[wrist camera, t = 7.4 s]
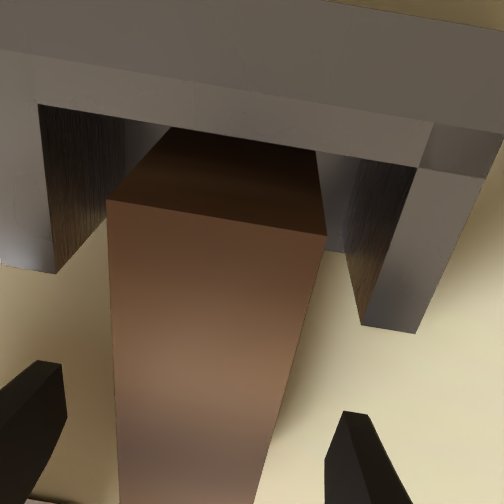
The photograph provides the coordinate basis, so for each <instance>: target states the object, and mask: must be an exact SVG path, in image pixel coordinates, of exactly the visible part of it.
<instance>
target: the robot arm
mask: <svg viewBox="0 0 504 504" xmlns="http://www.w3.org/2000/svg"><path fill="white" fill-rule="evenodd" d="M66 420H67V409H66V400H65V392H64V383H63V375H62V366H61V364H58V363H52V362H46V361H40V360H37V361H35V362H34V363H32V364H31V365H30V366H29V367H28V368H26V369H25V370H24V371H23V372H21V373H20V374H19V375H18V376H16V377H15V378H14V379H13V380H12V381H10V382H9V383H8V384H7V385H5V386H4V387H3V388H2V389H1V390H0V504H56V503H49V502H43V501H37V500H31V499H27V498H28V497H29V495H30V493H31V491H32V490H33V488H34V486H35V484H36V482H37V481H38V479H39V477H40V475H41V473H42V472H43V470H44V468H45V466H46V465H47V463H48V461H49V459H50V457H51V455H52V453H53V450H54V448H55V446H56V444H57V441H58V439H59V437H60V434H61V432H62V429H63V427H64V425H65V422H66ZM324 484H325V504H413V503H412V501H411V499H410V497H409V495H408V494H407V492H406V490H405V488H404V486H403V484H402V483H401V481H400V479H399V477H398V475H397V473H396V471H395V469H394V467H393V465H392V463H391V461H390V459H389V457H388V455H387V453H386V451H385V449H384V447H383V445H382V443H381V441H380V439H379V436H378V434H377V432H376V430H375V428H374V426H373V424H372V421H371V419H370V418H369V416H368V415H367V414H361V413H355V412H348V411H343V413H342V416H341V418H340V421H339V423H338V426H337V429H336V431H335V434H334V436H333V439H332V442H331V444H330V447H329V449H328V452H327V455H326V457H325V466H324Z"/></svg>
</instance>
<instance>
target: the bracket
mask: <svg viewBox="0 0 504 504" xmlns="http://www.w3.org/2000/svg"><path fill="white" fill-rule="evenodd" d="M170 127H174V128H180V129H186V130H192V131H198V132H204V133H210V134H216V135H221V136H227V137H233V138H239V139H245V140H251V141H257V142H263V143H269V144H275V145H281V146H287V147H293V148H299V149H305V150H310V151H316V158H317V165H318V172H319V179H320V187H321V194H322V201H323V208H324V215H325V222H326V230H327V240H326V243H325V247H324V250H328V251H334V252H340V253H345V255H346V260H347V264H348V269H349V273H350V278H351V282H352V287H353V291H354V296H355V300H356V305H357V309H358V314H359V318H360V323H361V325H364V326H370V327H376V328H382V329H388V330H394V331H400V332H406V333H412V334H416V331H417V329H418V327H419V325H420V322H421V320H422V318H423V316H424V314H425V311H426V309H427V307H428V305H429V303H430V300H431V298H432V296H433V294H434V292H435V289H436V287H437V285H438V283H439V281H440V278H441V276H442V274H443V272H444V270H445V267H446V265H447V263H448V261H449V258H450V256H451V254H452V252H453V250H454V247H455V245H456V243H457V241H458V239H459V236H460V234H461V232H462V230H463V228H464V225H465V223H466V221H467V219H468V217H469V214H470V212H471V210H472V208H473V206H474V203H475V201H476V199H477V197H478V195H479V192H480V190H481V188H482V186H483V183H484V181H485V179H486V177H487V175H488V172H489V170H490V168H491V166H492V164H493V161H494V159H495V157H496V155H497V153H498V150H499V148H500V146H501V144H502V142H503V139H504V31H499V30H493V29H487V28H481V27H476V26H470V25H464V24H458V23H452V22H446V21H440V20H434V19H429V18H423V17H417V16H411V15H405V14H399V13H393V12H388V11H382V10H376V9H370V8H364V7H358V6H352V5H347V4H341V3H335V2H329V1H323V0H0V261H1V265H3V266H9V267H15V268H21V269H27V270H33V271H39V272H45V273H51V274H57V272H58V271H59V270H60V269H61V268H62V267H63V266H64V265H65V263H66V262H67V261H68V260H69V259H70V258H71V257H72V255H73V254H74V253H75V252H76V251H77V250H78V249H79V248H80V246H81V245H82V244H83V243H84V242H85V241H86V240H87V238H88V237H89V236H90V235H91V234H92V233H93V232H94V230H95V229H96V228H97V227H98V226H99V225H100V224H101V223H102V221H103V220H104V219H105V218H106V217H107V216H106V198H107V197H108V196H109V195H110V194H111V193H112V192H113V191H114V189H115V188H116V187H117V186H118V185H119V184H120V183H121V182H122V181H123V179H124V178H125V177H126V176H127V175H128V174H129V173H130V172H131V171H132V170H133V168H134V167H135V166H136V165H137V164H138V163H139V162H140V161H141V160H142V158H143V157H144V156H145V155H146V154H147V153H148V152H149V151H150V150H151V148H152V147H153V146H154V145H155V144H156V143H157V142H158V141H159V140H160V138H161V137H162V136H163V135H164V134H165V133H166V132H167V131H168V130H169V129H170Z"/></svg>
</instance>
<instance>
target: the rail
mask: <svg viewBox="0 0 504 504" xmlns="http://www.w3.org/2000/svg"><path fill="white" fill-rule="evenodd" d="M106 216H107V237H108V259H109V280H110V302H111V324H112V345H113V367H114V388H115V410H116V432H117V453H118V475H119V496H120V504H253V503H254V499H255V495H256V492H257V488H258V485H259V481H260V477H261V474H262V470H263V466H264V463H265V459H266V456H267V452H268V448H269V445H270V441H271V438H272V434H273V430H274V427H275V423H276V420H277V416H278V412H279V409H280V405H281V402H282V398H283V394H284V391H285V387H286V384H287V380H288V376H289V373H290V369H291V366H292V362H293V358H294V355H295V351H296V348H297V344H298V340H299V337H300V333H301V330H302V326H303V322H304V319H305V315H306V312H307V308H308V304H309V301H310V297H311V294H312V290H313V286H314V283H315V279H316V276H317V272H318V268H319V265H320V261H321V258H322V254H323V250H324V247H325V243H326V240H327V230H326V222H325V215H324V208H323V201H322V194H321V187H320V179H319V172H318V165H317V158H316V151H310V150H305V149H299V148H293V147H287V146H281V145H275V144H269V143H263V142H257V141H251V140H245V139H239V138H233V137H227V136H221V135H216V134H210V133H204V132H198V131H192V130H186V129H180V128H174V127H170V129H169V130H168V131H167V132H166V133H165V134H164V135H163V136H162V137H161V138H160V140H159V141H158V142H157V143H156V144H155V145H154V146H153V147H152V148H151V150H150V151H149V152H148V153H147V154H146V155H145V156H144V157H143V158H142V160H141V161H140V162H139V163H138V164H137V165H136V166H135V167H134V168H133V170H132V171H131V172H130V173H129V174H128V175H127V176H126V177H125V178H124V179H123V181H122V182H121V183H120V184H119V185H118V186H117V187H116V188H115V189H114V191H113V192H112V193H111V194H110V195H109V196H108V197H107V198H106Z"/></svg>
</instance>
